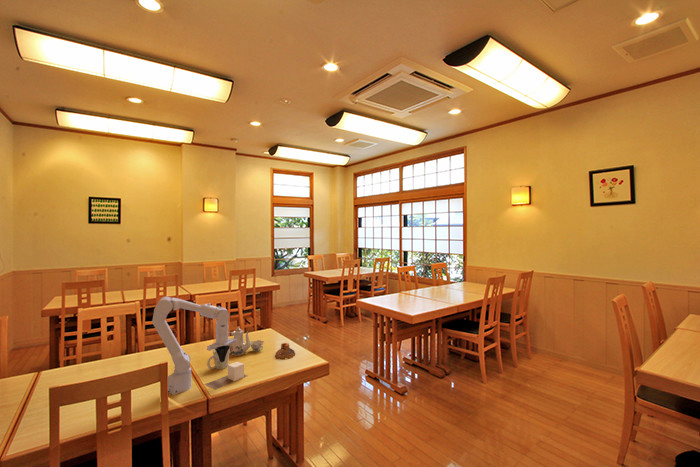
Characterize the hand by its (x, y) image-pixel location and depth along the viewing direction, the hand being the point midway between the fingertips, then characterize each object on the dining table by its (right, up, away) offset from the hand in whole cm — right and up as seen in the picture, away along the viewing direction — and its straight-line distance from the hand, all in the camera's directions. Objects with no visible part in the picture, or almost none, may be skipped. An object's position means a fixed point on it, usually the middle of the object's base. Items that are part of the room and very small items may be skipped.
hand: (222, 361), depth 155 cm
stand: (+2, -10, +1) cm, 11 cm away
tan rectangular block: (+6, -9, +3) cm, 11 cm away
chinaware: (-6, -12, +44) cm, 46 cm away
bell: (+23, -12, +37) cm, 45 cm away
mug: (-8, -11, +16) cm, 21 cm away
